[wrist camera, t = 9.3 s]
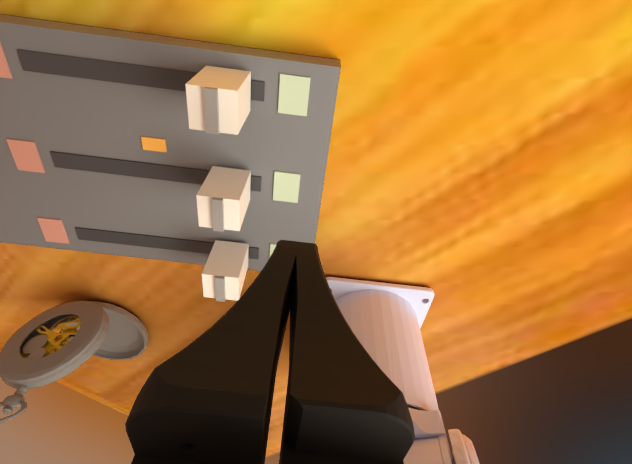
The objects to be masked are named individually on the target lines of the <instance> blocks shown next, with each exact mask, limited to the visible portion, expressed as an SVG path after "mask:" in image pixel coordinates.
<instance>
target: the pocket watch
mask: <svg viewBox="0 0 632 464" xmlns="http://www.w3.org/2000/svg"><path fill="white" fill-rule="evenodd" d="M54 329H62V330H61V331H60V333H59V334H58V333H54V332H52V330H54ZM62 331H63V333H61V332H62ZM55 337H56V338H55ZM54 338H55V339H54ZM148 338H149V336H148V332H147V330H146V328H145V326H144V325H143V323H142V322H141V321H140V320H139V319H138V318H137V317H136V316H134V315H133V314H131V313H130V312H128V311H127V310H125V309H123V308H121V307H118V306H115V305H113V304H109V303H104V302H95V301H73V302H68V303H65V304H61V305H58V306H56V307H53V308H51V309H49V310H47V311H45V312H43V313H41V314H39V315H38V316H36V317H34V318H33V319H32V320H30V321H29V322H27V323H26V324H24V325H23V326H22V327H21V328H20V329H19V330H17V331H16V332H15V333H14V334H13V335H12V337H11V338H10V339H9V340H8V341H7V342H6V344H5V345H4V347H3V348H2V350H1V352H0V377H1V378H2V380H3V381H4V382H5V383H6V384H7V385H9V386H11V387H13V388H17V391H16V392H15V393H14V395H11V396H8V397H7V398H5V399H4V400H3V402H0V406H2V405H4V408H3V411H4V413H5V414H8V413H11V412H12V411H13V409H12V408H17V407H20V406H22V407H21V409H20V410H19V411H18V412H16V413H15V414H12V415H10V416H8V417H5V418H3V419H0V423H2V422H5V421H8V420H10V419H13V418H15V417H17V416H18V415H20V414H22V413H23V412H24V411H25V409H26V407H27V403H26V402H25V398H24V397H23V395H24V394H25V393H26V392H27V391H28V389H30V388H36V387H41V386H44V385H47V384H49V383H52V382H54V381H57V380H59V379H60V378H62V377H64V376H66V375H68V374H69V373H71V372H73V371H74V370H75V369H77V368H78V367H79V366H80V365H82V364H83V363H84V362H85V361H87V360H88V359H89V358H90V357H91V356H92V355H94V356H97V357H101V358H106V359H110V360H127V359H132V358H135V357H137V356H139V355H140V354H142V352H143V351H144V350H145V348H146V347H147V344H148ZM54 340H55V341H54ZM66 341H68V342H66ZM65 343H67V344H65Z"/></svg>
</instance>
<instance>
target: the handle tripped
mask: <svg viewBox="0 0 632 464" xmlns="http://www.w3.org/2000/svg"><path fill="white" fill-rule="evenodd" d="M250 183H251V171H250V170H242V169H234V168H226V167H217V166H212V168H211V170H210V172H209V174H208V175H207V177H206V179H205V181H204V182H203V184H202V186H201V188H200V190H199V191H198V193H197V195H196V198H197V210H198V222H199V227H207V228H213V231H220V232H224V229H225V230H234V231H240V229H241V226H242V223H243V220H244V217H245V214H246V211H247V208H248V205H249V202H250Z"/></svg>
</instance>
